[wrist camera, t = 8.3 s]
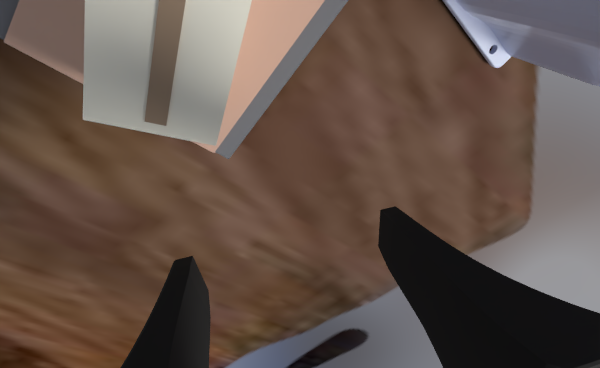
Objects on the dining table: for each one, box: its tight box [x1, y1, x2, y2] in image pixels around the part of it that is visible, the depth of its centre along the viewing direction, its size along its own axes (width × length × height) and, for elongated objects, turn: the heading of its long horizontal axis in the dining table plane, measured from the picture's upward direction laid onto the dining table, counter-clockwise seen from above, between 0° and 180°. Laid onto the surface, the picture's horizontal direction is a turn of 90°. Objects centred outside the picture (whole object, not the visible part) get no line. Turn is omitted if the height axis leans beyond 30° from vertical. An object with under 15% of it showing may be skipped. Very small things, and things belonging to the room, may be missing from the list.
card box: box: [83, 0, 252, 146], centre depth 13 cm, size 8×5×4 cm, turn 160°
